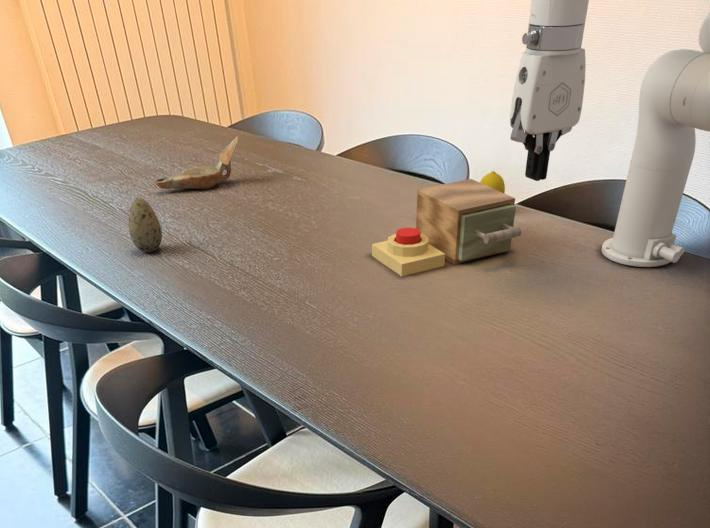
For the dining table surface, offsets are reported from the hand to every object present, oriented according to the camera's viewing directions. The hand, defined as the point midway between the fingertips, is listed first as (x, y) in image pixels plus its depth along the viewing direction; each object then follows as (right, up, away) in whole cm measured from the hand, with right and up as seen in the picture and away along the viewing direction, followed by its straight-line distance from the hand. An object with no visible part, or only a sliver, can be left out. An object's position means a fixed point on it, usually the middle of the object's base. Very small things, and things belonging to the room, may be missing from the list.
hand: (535, 177), depth 105 cm
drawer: (-6, -4, +20) cm, 21 cm away
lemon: (+1, +10, +37) cm, 39 cm away
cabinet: (-8, -3, +23) cm, 24 cm away
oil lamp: (-65, +23, +56) cm, 89 cm away
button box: (-18, -7, +18) cm, 27 cm away
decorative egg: (-68, -3, +26) cm, 73 cm away
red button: (-19, -4, +16) cm, 25 cm away
